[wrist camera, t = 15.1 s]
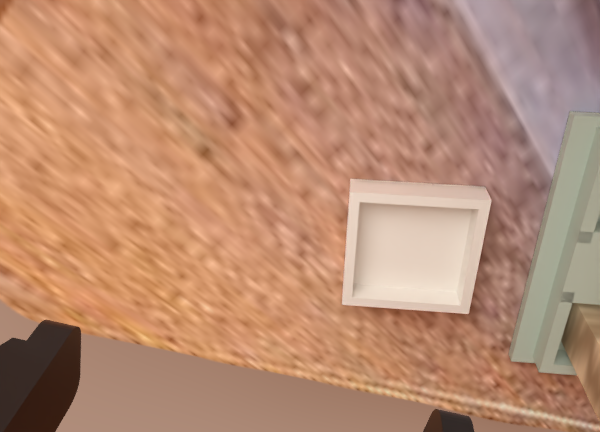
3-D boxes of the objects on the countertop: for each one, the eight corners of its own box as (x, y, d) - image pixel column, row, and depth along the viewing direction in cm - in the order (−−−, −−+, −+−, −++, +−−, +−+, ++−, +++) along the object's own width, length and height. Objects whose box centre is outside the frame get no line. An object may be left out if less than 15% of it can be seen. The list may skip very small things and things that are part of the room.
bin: (350, 178, 46) (349, 192, 43) (485, 186, 45) (491, 200, 43) (342, 287, 51) (341, 304, 48) (463, 296, 50) (468, 314, 48)
